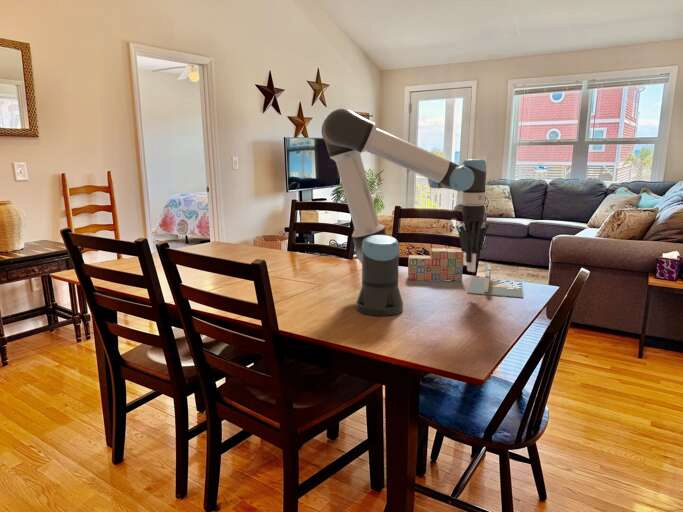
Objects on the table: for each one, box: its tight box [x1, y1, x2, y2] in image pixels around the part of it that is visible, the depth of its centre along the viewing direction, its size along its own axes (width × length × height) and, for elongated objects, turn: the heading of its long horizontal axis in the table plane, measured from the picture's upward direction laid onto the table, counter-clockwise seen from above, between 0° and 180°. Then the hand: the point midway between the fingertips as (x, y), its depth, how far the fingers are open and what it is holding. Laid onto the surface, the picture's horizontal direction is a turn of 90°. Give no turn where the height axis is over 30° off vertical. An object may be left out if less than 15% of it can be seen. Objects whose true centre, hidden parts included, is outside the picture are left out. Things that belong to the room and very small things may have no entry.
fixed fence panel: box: [486, 263, 492, 270], centre depth 187 cm, size 9×1×7 cm, turn 161°
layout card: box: [466, 277, 524, 299], centre depth 180 cm, size 23×19×1 cm
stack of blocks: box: [407, 248, 465, 282], centre depth 193 cm, size 21×6×12 cm, turn 85°
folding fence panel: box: [484, 268, 492, 292], centre depth 177 cm, size 11×2×6 cm, turn 161°
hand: (471, 271), depth 169 cm, fingers closed
